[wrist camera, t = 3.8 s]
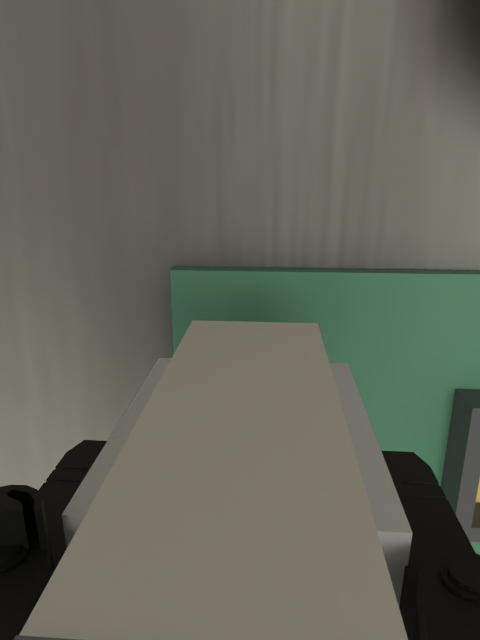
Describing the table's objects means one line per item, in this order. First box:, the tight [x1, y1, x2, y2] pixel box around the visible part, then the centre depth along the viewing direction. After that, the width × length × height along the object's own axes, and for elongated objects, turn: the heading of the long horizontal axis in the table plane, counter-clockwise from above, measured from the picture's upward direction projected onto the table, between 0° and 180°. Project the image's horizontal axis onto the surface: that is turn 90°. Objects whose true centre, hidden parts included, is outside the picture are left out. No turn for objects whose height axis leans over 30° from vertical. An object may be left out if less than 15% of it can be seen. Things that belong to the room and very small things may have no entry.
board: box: [170, 266, 480, 555], centre depth 22 cm, size 16×24×3 cm, turn 90°
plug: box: [14, 320, 408, 640], centre depth 10 cm, size 4×4×12 cm
